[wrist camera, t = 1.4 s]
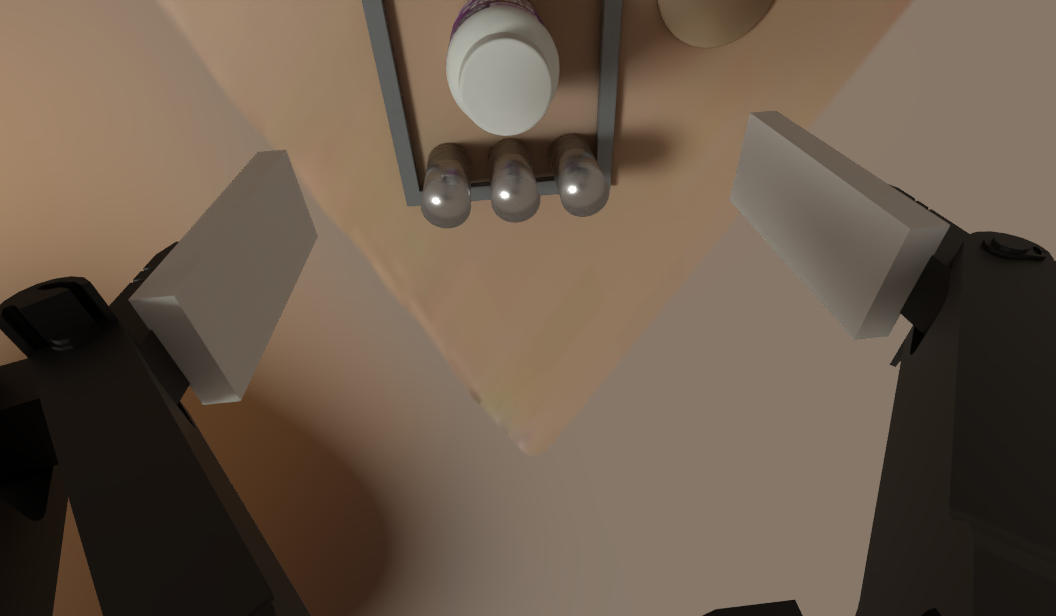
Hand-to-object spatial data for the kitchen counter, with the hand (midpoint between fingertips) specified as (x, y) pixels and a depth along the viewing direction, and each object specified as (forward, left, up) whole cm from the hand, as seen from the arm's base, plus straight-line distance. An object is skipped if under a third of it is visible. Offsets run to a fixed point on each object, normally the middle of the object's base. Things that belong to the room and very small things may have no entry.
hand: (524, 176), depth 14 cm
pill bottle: (0, 0, -18) cm, 18 cm away
